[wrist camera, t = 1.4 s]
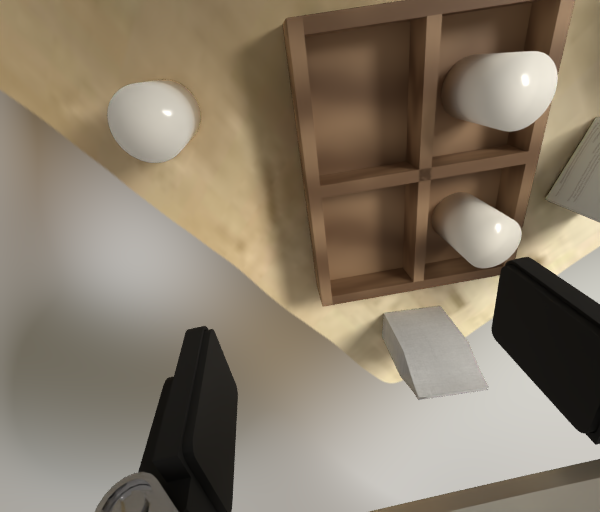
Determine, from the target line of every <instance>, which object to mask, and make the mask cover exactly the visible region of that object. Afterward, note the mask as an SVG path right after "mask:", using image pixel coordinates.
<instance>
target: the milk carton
mask: <svg viewBox="0 0 600 512" xmlns="http://www.w3.org/2000/svg"><path fill="white" fill-rule="evenodd" d="M382 338H383V340H384V342H385V344H386V346H387V348H388V351H389V353H390V355H391V357H392V359H393V361H394V364H395V366H396V368H397V370H398V372H399V374H400V376H401V378H402V379H403V380H404V381H405V382H406V383H407V385H408V386H409V387H410V388H411V390H412V391H413V392H414V394H415V395H416V397H417V399H418V400H421V399H428V398H434V397H442V396H448V395H456V394H462V393H468V392H476V391H483V390H488V389H487V388H488V387H489V386H488V385H487V383H486V381H485V379H484V377H483V375H482V373H481V371H480V368H479V366H478V364H477V361H476V359H475V357H474V354H473V352H472V349H471V347H470V345H469V342H468V341H467V340H466V338H465V337H464V336H463V334H462V333H461V332H460V331H459V329H458V328H457V327H456V325H455V324H454V323H453V321H452V320H451V319H450V317H449V316H448V315H447V314H446V312H445V311H444V310H443V308H442V307H441V306H434V307H426V308H419V309H411V310H403V311H395V312H387V313H384V318H383V330H382Z"/></svg>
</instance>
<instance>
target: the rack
mask: <svg viewBox="0 0 600 512" xmlns="http://www.w3.org/2000/svg"><path fill="white" fill-rule="evenodd" d="M574 3H575V0H403V1H397V2H390V3H383V4H377V5H370V6H363V7H357V8H350V9H343V10H337V11H330V12H324V13H317V14H310V15H304V16H297V17H290V18H286V20H285V21H284V23H283V31H284V38H285V46H286V53H287V61H288V69H289V76H290V84H291V92H292V99H293V107H294V114H295V122H296V130H297V137H298V145H299V153H300V160H301V168H302V175H303V183H304V191H305V198H306V206H307V213H308V221H309V229H310V236H311V244H312V252H313V259H314V267H315V274H316V282H317V288H318V291H319V295H320V299H321V302H322V306H329V305H335V304H340V303H346V302H351V301H357V300H363V299H368V298H374V297H379V296H385V295H391V294H396V293H402V292H408V291H413V290H419V289H424V288H430V287H436V286H441V285H447V284H452V283H458V282H464V281H469V280H475V279H481V278H486V277H492V276H497V275H500V272H501V268H502V267H504V266H505V264H506V262H507V261H510V260H514V259H515V258H516V253H517V249H518V248H517V249H516V251H515V252H514V253H513V254H512V255H511V256H510V257H509V258H508V259H507V260H506V261H504V262H503V263H501V264H499V265H497V266H494V267H490V268H478V267H475V266H473V265H471V264H470V263H469V262H468V261H467V260H466V259H465V258H464V257H463V256H462V255H460V254H459V253H458V252H457V251H456V250H455V249H454V248H453V247H452V246H451V245H450V244H449V243H448V242H446V241H445V240H444V239H443V238H442V237H441V236H440V235H439V234H438V233H437V232H436V231H435V230H434V228H433V226H432V215H433V212H434V210H435V208H436V206H437V205H438V204H439V203H440V202H441V201H442V200H443V199H444V198H445V197H447V196H449V195H451V194H453V193H457V192H466V193H469V194H471V195H473V196H475V197H476V198H478V199H480V200H481V201H483V202H485V203H486V204H488V205H490V206H491V207H493V208H495V209H496V210H498V211H500V212H501V213H503V214H505V215H506V216H508V217H510V218H511V219H513V220H515V221H516V222H517V223H518V224H519V226H520V228H521V232H522V227H523V223H524V219H525V214H526V210H527V206H528V201H529V197H530V193H531V189H532V184H533V180H534V176H535V171H536V167H537V163H538V158H539V154H540V150H541V145H542V141H543V137H544V132H545V128H546V124H547V119H548V115H549V111H550V107H551V103H550V105H549V106H548V108H547V109H546V110H545V112H544V113H543V114H542V115H541V116H540V117H539V118H538V119H537V120H536V121H535V122H534V123H532V124H531V125H529V126H528V127H526V128H524V129H521V130H518V131H511V132H508V131H502V130H498V129H494V128H491V127H487V126H483V125H479V124H475V123H472V122H468V121H464V120H460V119H456V118H454V117H452V116H450V115H449V114H448V113H447V112H446V111H445V109H444V107H443V104H442V99H441V91H442V86H443V83H444V80H445V78H446V76H447V74H448V72H449V71H450V69H451V68H452V67H453V66H454V65H455V64H456V63H457V62H458V61H460V60H461V59H463V58H464V57H467V56H469V55H473V54H490V53H508V52H527V51H539V52H542V53H545V54H547V55H548V56H549V57H550V58H551V59H552V60H553V62H554V63H555V66H556V69H557V76H558V72H559V68H560V63H561V59H562V55H563V50H564V46H565V42H566V37H567V33H568V29H569V25H570V20H571V16H572V12H573V7H574ZM551 102H552V101H551Z"/></svg>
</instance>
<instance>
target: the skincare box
mask: <svg viewBox="0 0 600 512" xmlns="http://www.w3.org/2000/svg"><path fill="white" fill-rule="evenodd" d="M546 200H547V201H549V202H552V203H554V204H556V205H559V206H561V207H564V208H566V209H569V210H571V211H573V212H576V213H578V214H581V215H583V216H585V217H588V218H590V219H593V220H595V221H597V222H600V117H596V118H595V120H594V121H593V123H592V124H591V126H590V128H589V129H588V131H587V133H586V134H585V136H584V138H583V139H582V141H581V142H580V144H579V146H578V147H577V149H576V150H575V152H574V154H573V155H572V157H571V158H570V160H569V162H568V163H567V165H566V166H565V168H564V170H563V171H562V173H561V174H560V176H559V178H558V179H557V181H556V182H555V184H554V186H553V187H552V189H551V190H550V192H549V194H548V195H547V197H546Z"/></svg>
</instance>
